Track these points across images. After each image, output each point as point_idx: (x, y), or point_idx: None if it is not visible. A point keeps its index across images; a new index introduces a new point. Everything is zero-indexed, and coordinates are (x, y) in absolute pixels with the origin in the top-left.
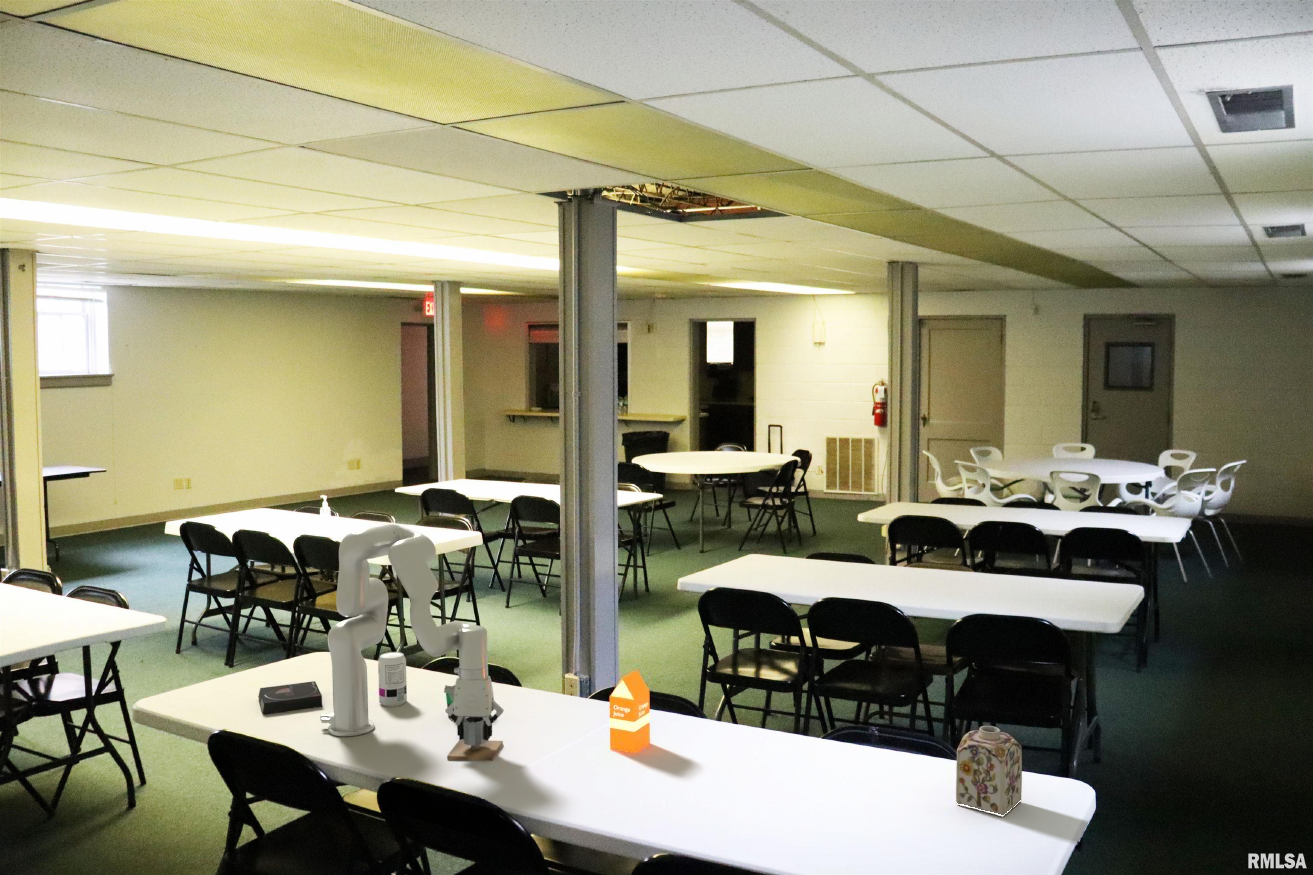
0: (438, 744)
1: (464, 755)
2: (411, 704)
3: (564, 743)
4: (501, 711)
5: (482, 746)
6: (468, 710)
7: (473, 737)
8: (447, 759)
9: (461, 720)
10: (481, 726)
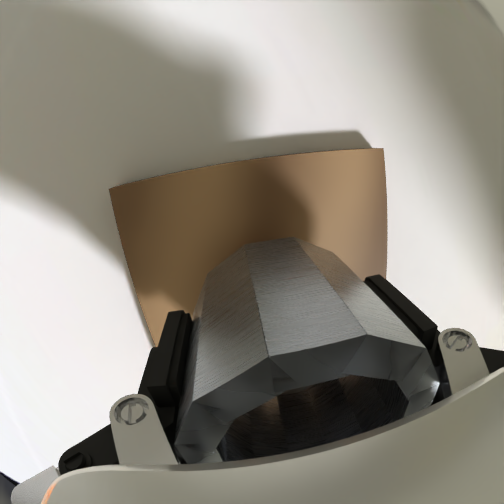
0: (440, 315)
1: (289, 169)
2: None
3: (15, 397)
4: (17, 499)
5: None
6: (454, 501)
7: (262, 264)
8: (372, 148)
9: (441, 374)
10: (195, 367)
